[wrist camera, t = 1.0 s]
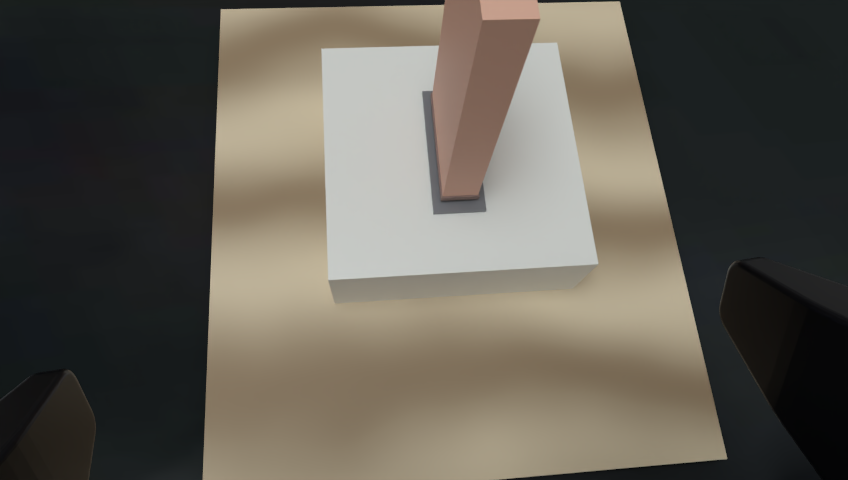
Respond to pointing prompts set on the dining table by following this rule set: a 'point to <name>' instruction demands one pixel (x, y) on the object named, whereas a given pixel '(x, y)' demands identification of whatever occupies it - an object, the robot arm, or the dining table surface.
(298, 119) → the base board
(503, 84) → the salmon pink flat block
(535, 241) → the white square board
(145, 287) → the dining table surface
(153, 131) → the dining table surface
